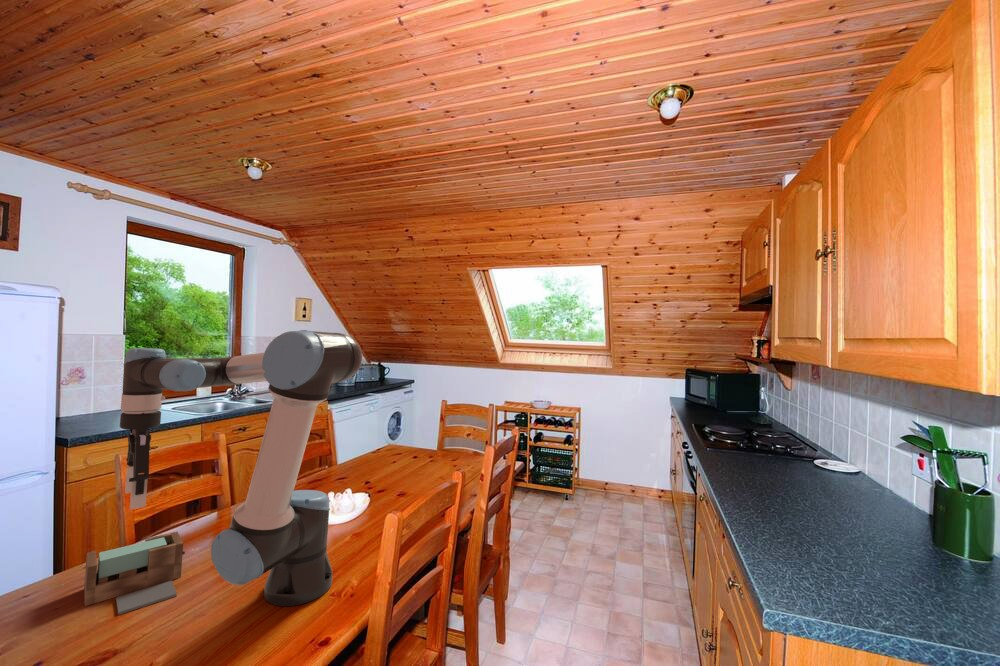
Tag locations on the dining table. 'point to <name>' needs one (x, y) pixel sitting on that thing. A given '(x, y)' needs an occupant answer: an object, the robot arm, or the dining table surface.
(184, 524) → the dining table surface
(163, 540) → the teal block
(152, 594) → the slate pad
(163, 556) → the walnut jig
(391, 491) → the dining table surface
